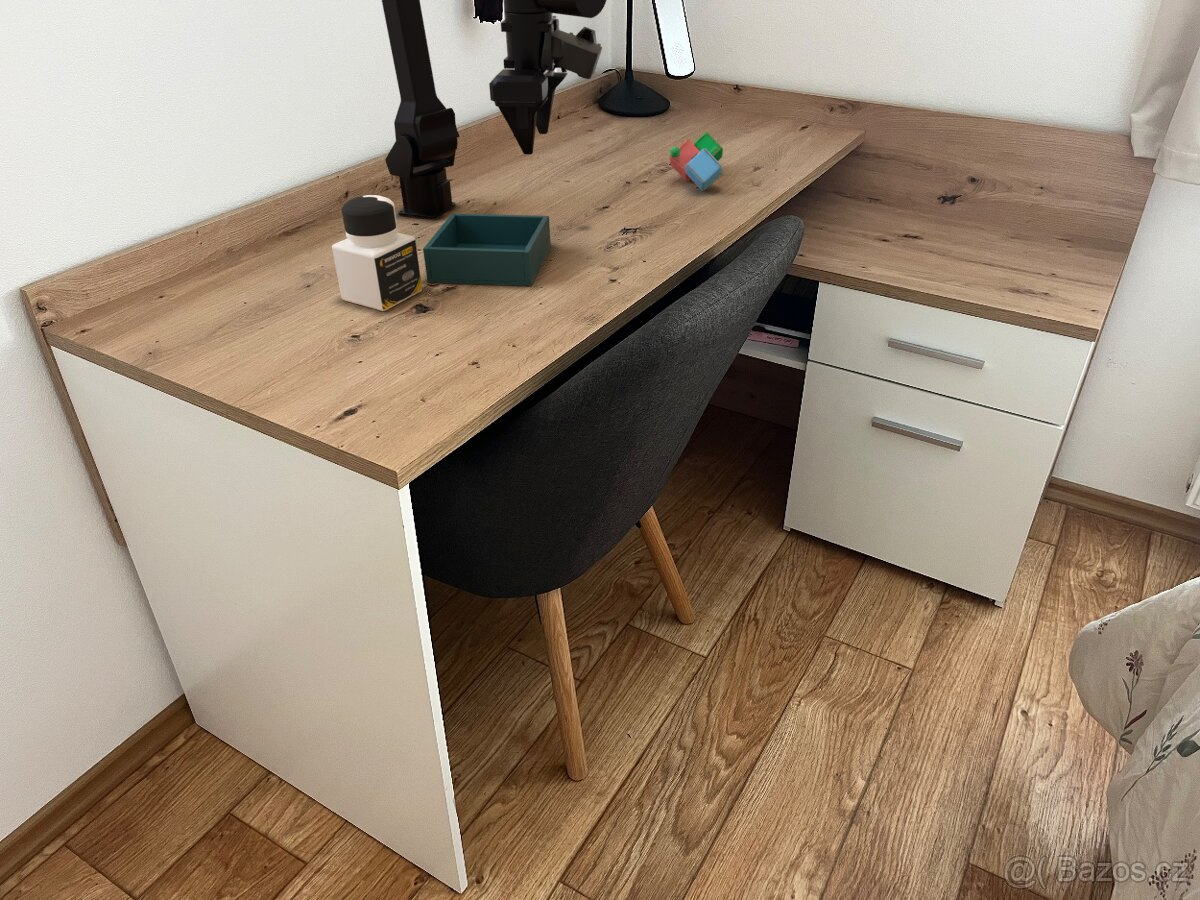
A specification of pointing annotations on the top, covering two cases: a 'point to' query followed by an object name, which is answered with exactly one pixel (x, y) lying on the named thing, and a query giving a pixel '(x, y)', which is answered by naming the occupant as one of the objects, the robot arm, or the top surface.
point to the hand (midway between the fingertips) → (536, 143)
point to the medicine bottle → (375, 255)
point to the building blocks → (698, 160)
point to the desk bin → (488, 249)
